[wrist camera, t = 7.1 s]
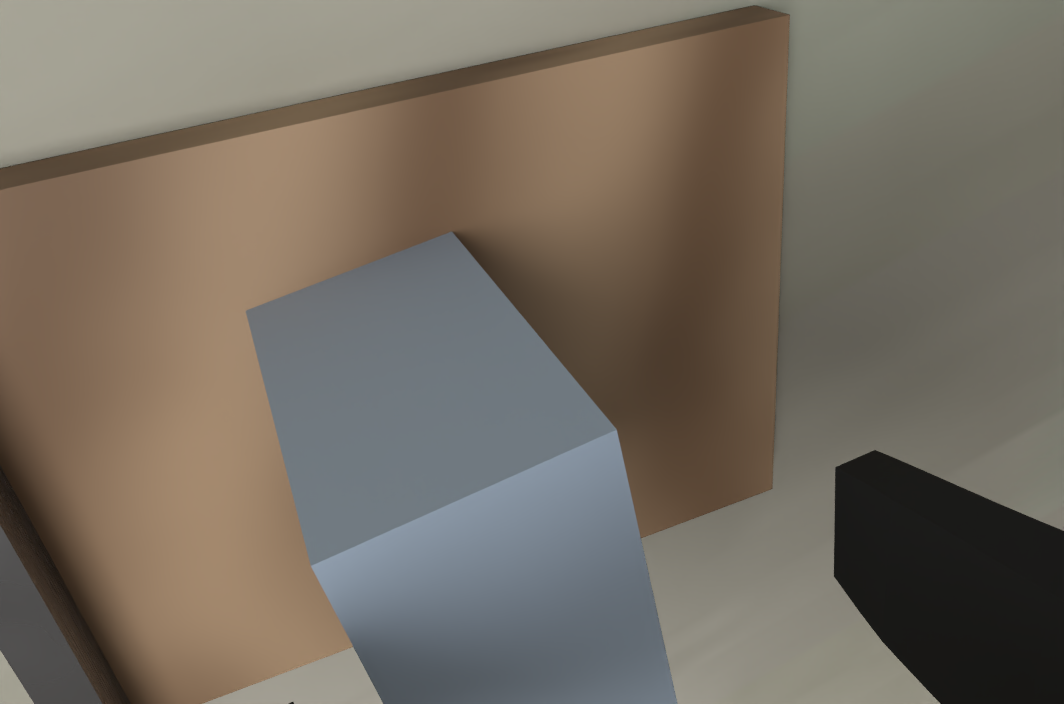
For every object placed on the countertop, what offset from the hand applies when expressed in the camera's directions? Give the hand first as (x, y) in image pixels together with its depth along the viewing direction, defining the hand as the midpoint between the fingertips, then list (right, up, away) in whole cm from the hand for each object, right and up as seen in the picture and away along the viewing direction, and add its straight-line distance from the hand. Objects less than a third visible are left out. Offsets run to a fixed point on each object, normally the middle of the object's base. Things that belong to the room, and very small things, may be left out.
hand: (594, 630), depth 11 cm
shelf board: (-3, +3, +8) cm, 9 cm away
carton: (-3, +3, +7) cm, 8 cm away
